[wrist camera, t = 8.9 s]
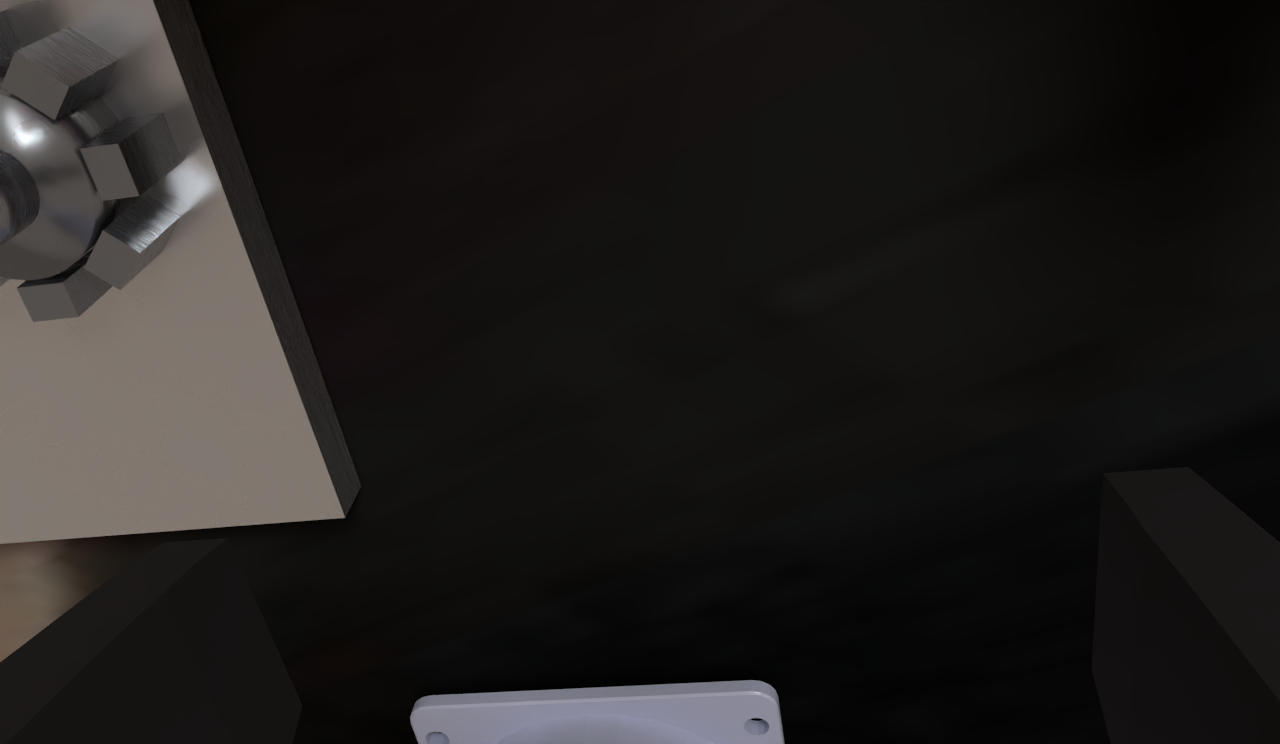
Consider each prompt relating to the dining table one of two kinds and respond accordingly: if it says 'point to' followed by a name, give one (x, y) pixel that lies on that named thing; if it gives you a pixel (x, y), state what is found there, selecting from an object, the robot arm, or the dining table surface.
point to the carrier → (143, 293)
